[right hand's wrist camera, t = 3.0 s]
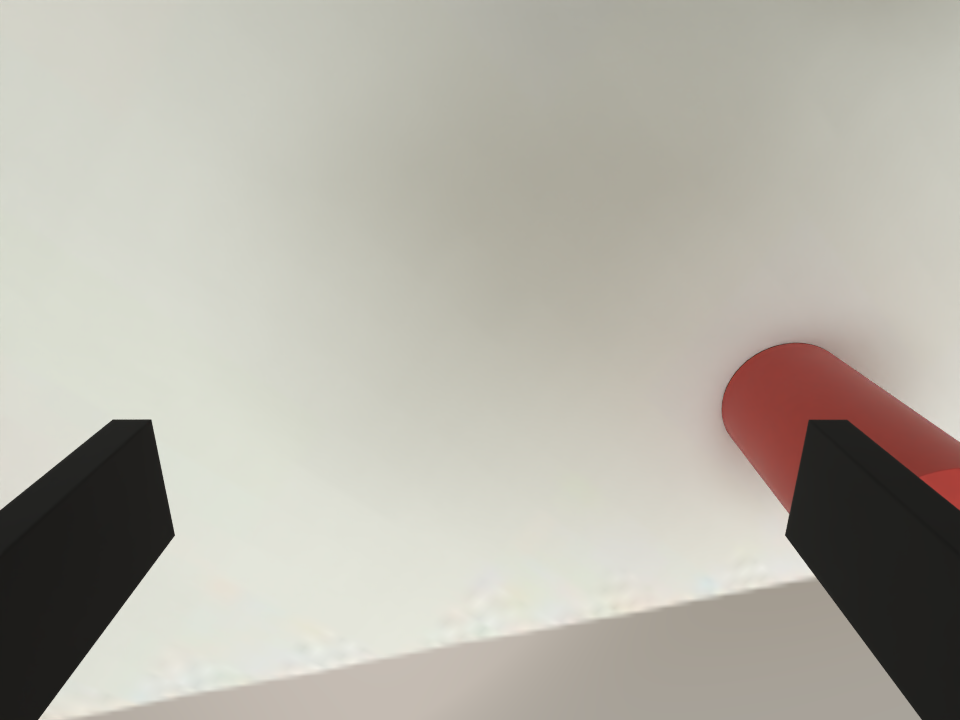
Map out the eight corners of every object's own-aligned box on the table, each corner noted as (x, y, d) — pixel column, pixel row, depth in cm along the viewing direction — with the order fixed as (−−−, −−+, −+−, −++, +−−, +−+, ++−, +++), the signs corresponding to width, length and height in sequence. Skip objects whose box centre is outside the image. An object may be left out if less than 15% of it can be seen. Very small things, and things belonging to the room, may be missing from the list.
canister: (764, 323, 33) (920, 440, 21) (875, 370, 34) (1084, 507, 22) (698, 431, 35) (806, 591, 23) (803, 473, 36) (958, 646, 24)
